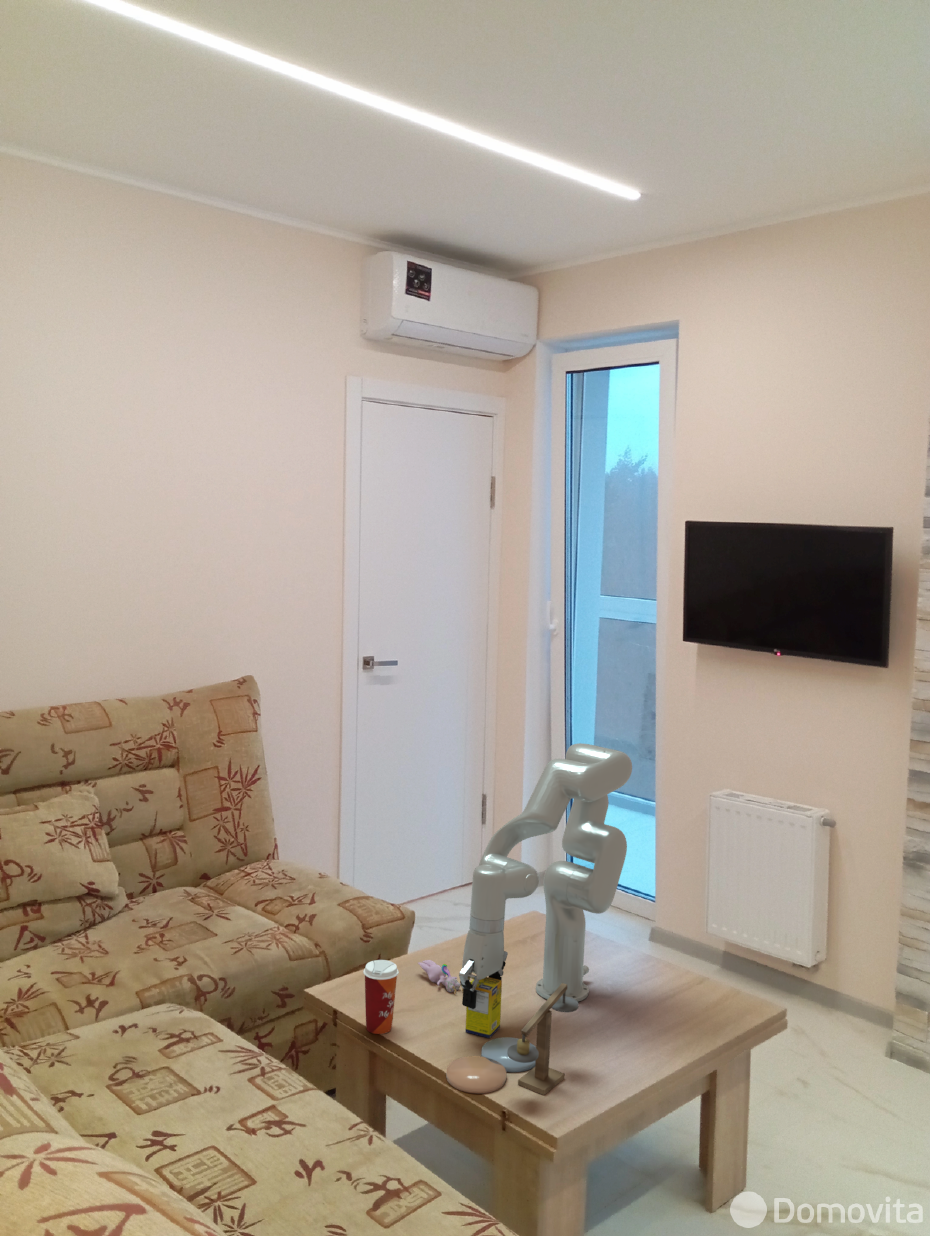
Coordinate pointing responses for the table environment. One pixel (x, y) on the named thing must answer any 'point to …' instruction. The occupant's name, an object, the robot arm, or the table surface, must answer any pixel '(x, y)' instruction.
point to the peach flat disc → (476, 1074)
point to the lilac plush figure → (440, 975)
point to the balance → (541, 1044)
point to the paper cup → (380, 995)
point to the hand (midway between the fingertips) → (481, 999)
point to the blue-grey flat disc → (504, 1054)
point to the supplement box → (485, 1008)
